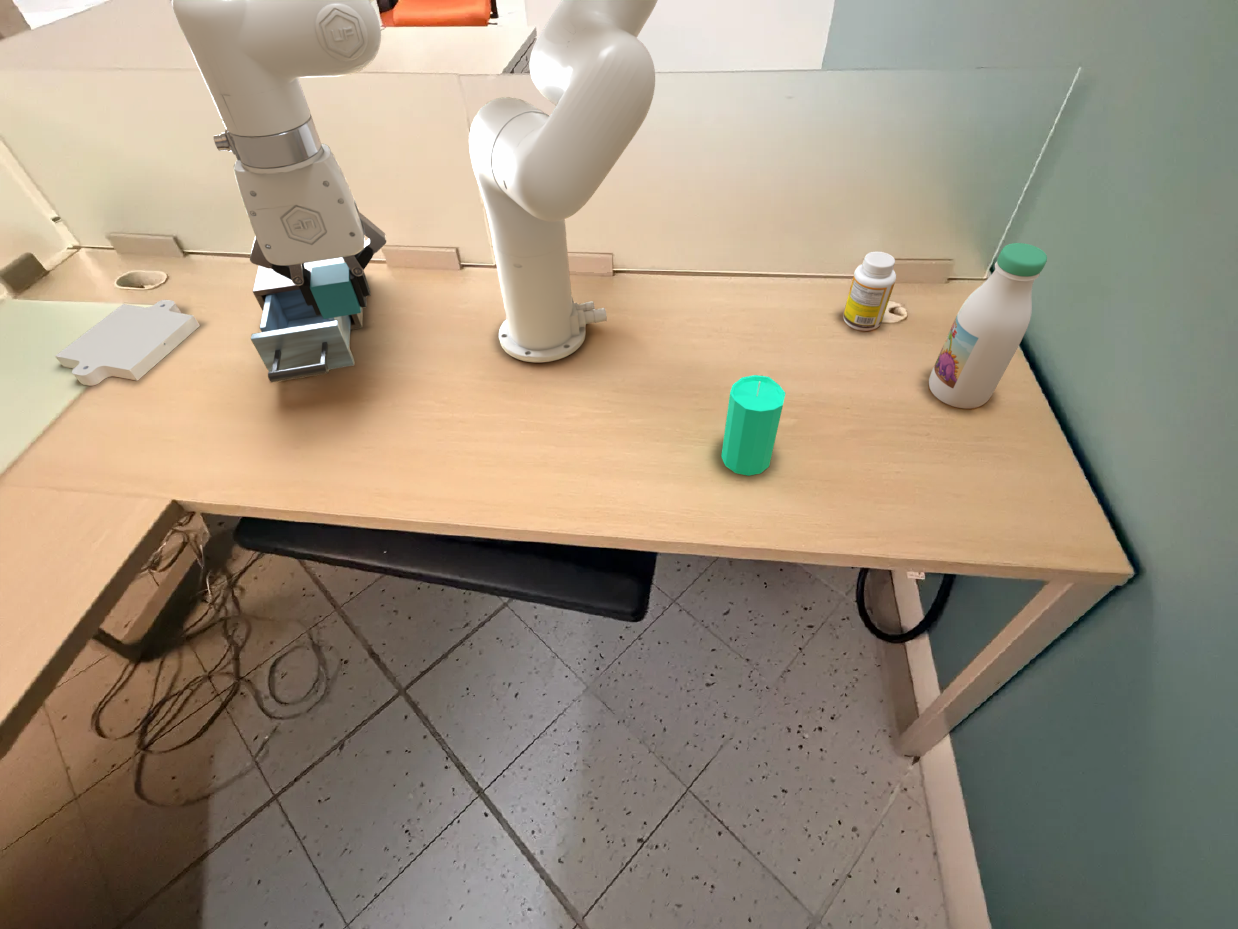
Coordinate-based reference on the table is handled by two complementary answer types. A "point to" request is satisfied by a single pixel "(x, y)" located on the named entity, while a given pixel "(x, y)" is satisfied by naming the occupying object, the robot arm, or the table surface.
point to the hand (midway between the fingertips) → (341, 303)
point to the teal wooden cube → (334, 291)
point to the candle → (752, 424)
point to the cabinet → (291, 286)
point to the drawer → (300, 338)
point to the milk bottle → (988, 330)
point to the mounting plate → (127, 342)
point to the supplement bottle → (870, 291)
